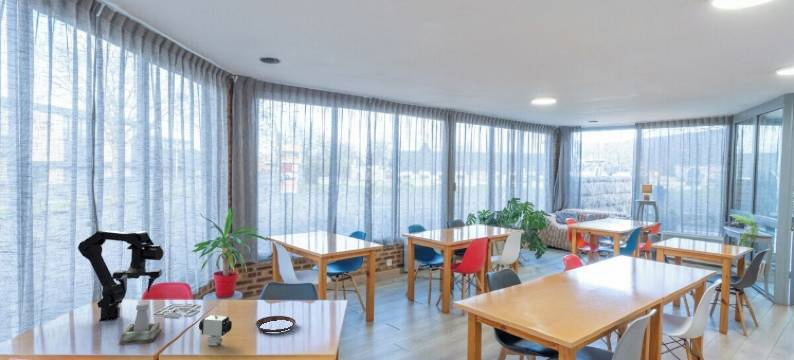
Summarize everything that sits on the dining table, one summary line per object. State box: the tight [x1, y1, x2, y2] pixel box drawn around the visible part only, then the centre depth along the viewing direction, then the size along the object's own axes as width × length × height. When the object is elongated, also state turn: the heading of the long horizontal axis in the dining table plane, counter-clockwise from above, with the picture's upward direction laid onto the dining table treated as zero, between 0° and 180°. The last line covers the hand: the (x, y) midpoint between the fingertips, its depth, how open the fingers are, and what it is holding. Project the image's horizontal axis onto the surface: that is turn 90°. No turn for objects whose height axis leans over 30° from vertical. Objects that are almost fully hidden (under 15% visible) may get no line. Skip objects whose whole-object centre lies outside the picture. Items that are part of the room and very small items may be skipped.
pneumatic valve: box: [198, 314, 233, 347], centre depth 166 cm, size 6×12×12 cm, turn 86°
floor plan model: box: [153, 303, 202, 319], centre depth 203 cm, size 19×25×2 cm
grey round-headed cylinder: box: [133, 302, 150, 332], centre depth 169 cm, size 6×6×13 cm
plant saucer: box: [255, 315, 297, 333], centre depth 186 cm, size 18×18×3 cm
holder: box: [118, 322, 162, 345], centre depth 169 cm, size 12×12×4 cm
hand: (137, 292), depth 188 cm, fingers open, 9 cm apart
